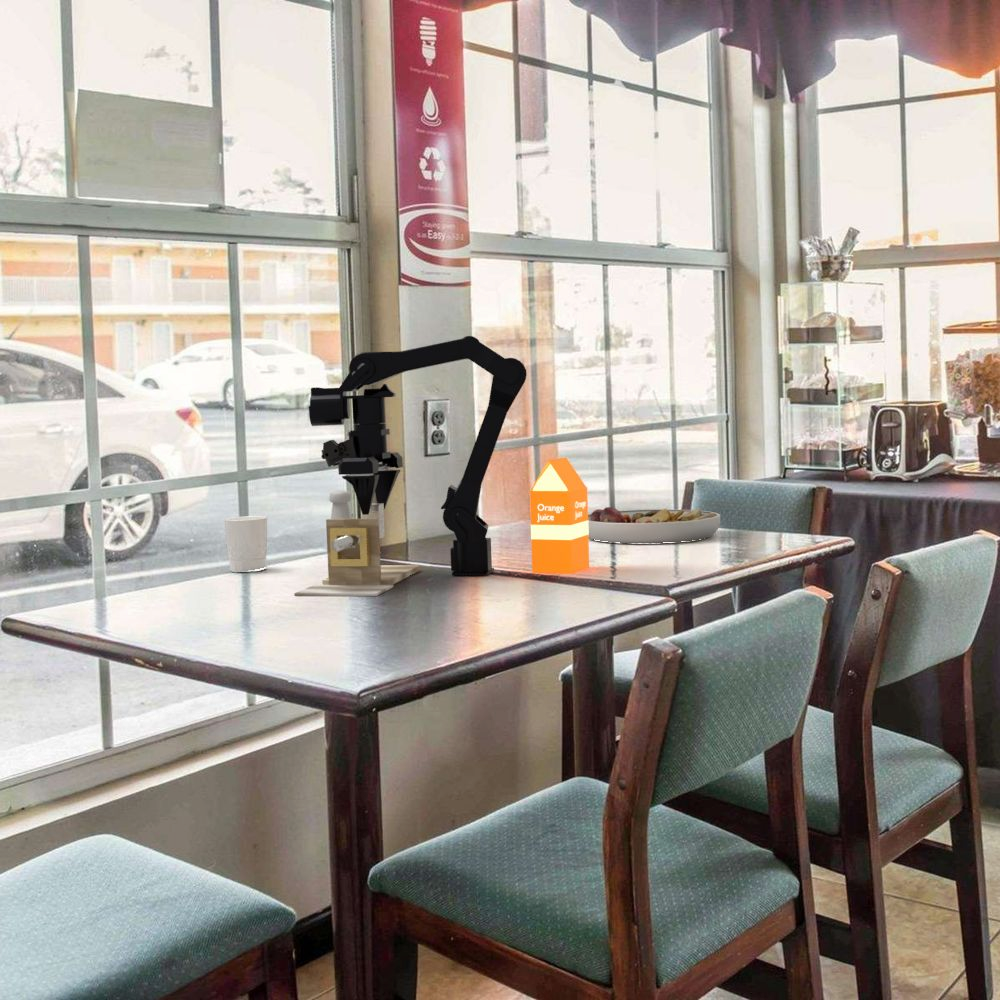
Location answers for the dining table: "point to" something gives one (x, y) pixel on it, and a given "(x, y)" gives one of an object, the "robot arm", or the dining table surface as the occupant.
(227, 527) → the white cup
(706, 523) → the bowl
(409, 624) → the dining table surface
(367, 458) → the robot arm
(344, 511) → the salt shaker
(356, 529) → the frame
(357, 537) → the shaft
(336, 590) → the wooden latch stand
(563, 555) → the orange juice
